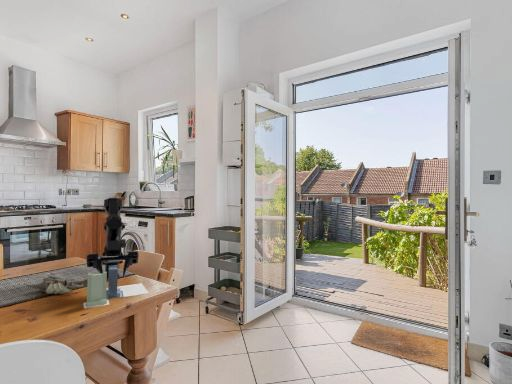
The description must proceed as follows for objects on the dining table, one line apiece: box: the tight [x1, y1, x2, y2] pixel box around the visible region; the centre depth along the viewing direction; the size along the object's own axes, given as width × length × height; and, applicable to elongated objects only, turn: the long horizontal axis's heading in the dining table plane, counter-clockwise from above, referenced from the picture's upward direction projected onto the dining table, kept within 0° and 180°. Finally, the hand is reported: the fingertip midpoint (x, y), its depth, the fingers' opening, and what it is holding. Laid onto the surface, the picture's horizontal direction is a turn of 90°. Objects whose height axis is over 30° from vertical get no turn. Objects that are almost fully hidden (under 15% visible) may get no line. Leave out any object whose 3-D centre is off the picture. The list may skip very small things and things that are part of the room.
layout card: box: [82, 282, 150, 310], centre depth 117 cm, size 21×23×1 cm
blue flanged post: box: [106, 264, 121, 299], centre depth 116 cm, size 6×6×11 cm
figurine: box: [23, 274, 84, 295], centre depth 119 cm, size 20×6×17 cm
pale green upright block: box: [86, 271, 108, 307], centre depth 107 cm, size 6×4×11 cm, turn 122°
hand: (113, 277), depth 115 cm, fingers open, 7 cm apart
